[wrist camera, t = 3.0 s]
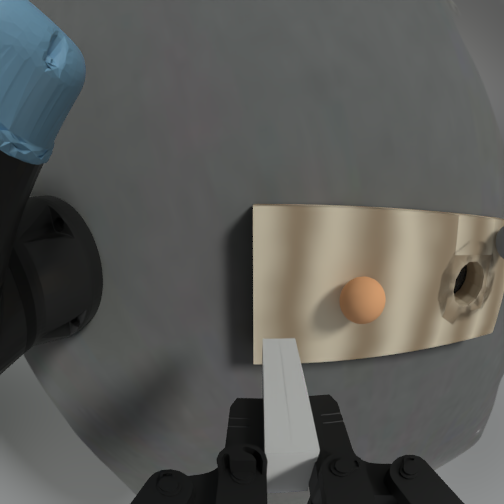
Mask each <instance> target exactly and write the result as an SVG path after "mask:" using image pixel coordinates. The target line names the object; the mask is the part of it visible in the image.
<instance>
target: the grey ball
mask: <svg viewBox="0 0 504 504" xmlns="http://www.w3.org/2000/svg"><path fill="white" fill-rule="evenodd" d="M496 249H497V251H498V253H499V255H500V256H501V257H502V258H503V259H504V226H503V227H502V228H501V229H500V230H499V231H498V233H497V236H496Z"/></svg>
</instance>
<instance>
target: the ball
mask: <svg viewBox="0 0 504 504" xmlns="http://www.w3.org/2000/svg"><path fill="white" fill-rule="evenodd" d="M339 302H340V308H341V311H342V313H343V314H344V316H345V317H346V318H347V319H348V320H350V321H351V322H354V323H357V324H367V323H370V322H372V321H374V320H376V319H377V318H378V317H379V316H380V315H381V313H382V312H383V309H384V307H385V302H386V297H385V292H384V290H383V288H382V286H381V285H380V284H379V283H378V282H377V281H376V280H375V279H373V278H370V277H365V276H362V277H356V278H354V279H352V280H350V281H349V282H348V283H347V284H346V285H345V286H344V288H343V289H342V291H341V294H340V301H339Z"/></svg>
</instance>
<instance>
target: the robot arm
mask: <svg viewBox="0 0 504 504" xmlns="http://www.w3.org/2000/svg"><path fill="white" fill-rule="evenodd" d="M85 75H86V66H85V61H84V58H83V55H82V53H81V51H80V50H79V48H78V47H77V46H76V45H75V44H74V43H73V41H72V40H71V39H70V38H69V37H68V36H67V35H66V34H65V33H64V32H63V31H62V30H61V29H60V28H59V27H58V26H57V25H56V24H54V23H53V22H52V21H51V20H50V19H49V18H48V17H47V16H46V15H45V14H43V13H42V12H41V11H40V10H39V9H38V8H37V7H35V6H34V5H33V4H32V3H31V2H29V1H28V0H0V374H1V373H3V372H4V371H5V370H6V369H7V368H8V367H9V366H10V365H11V364H13V363H14V362H15V361H16V360H17V359H18V358H19V357H20V356H21V355H23V354H24V353H25V352H26V351H27V350H29V349H30V348H31V347H32V346H35V345H39V344H43V343H47V342H50V341H54V340H58V339H62V338H65V337H69V336H71V335H73V334H75V333H77V332H78V331H79V330H80V329H82V328H83V327H84V326H85V325H86V324H87V323H88V322H89V321H90V320H91V319H92V318H93V317H94V315H95V313H96V311H97V309H98V307H99V304H100V300H101V296H102V286H103V278H102V267H101V261H100V257H99V253H98V250H97V246H96V244H95V241H94V239H93V236H92V234H91V232H90V230H89V228H88V226H87V225H86V223H85V222H84V220H83V219H82V217H81V216H80V215H79V214H78V212H77V211H76V210H75V209H74V208H73V207H71V206H70V205H69V204H68V203H66V202H65V201H63V200H61V199H59V198H56V197H53V196H38V197H30V198H29V196H30V193H31V191H32V188H33V186H34V184H35V181H36V179H37V177H38V174H39V172H40V170H41V168H42V166H43V163H46V162H47V161H48V160H49V158H50V156H51V154H52V150H53V148H54V140H55V138H56V136H57V134H58V132H59V130H60V128H61V126H62V124H63V122H64V120H65V118H66V116H67V115H68V113H69V111H70V109H71V107H72V106H73V104H74V102H75V100H76V99H77V97H78V95H79V94H80V91H81V89H82V87H83V84H84V81H85ZM217 464H218V468H216V469H215V470H213V471H211V472H209V473H205V474H200V475H193V476H187V475H185V474H183V473H182V472H180V471H176V470H171V469H170V470H161V471H159V472H156V473H154V474H153V475H152V476H151V477H150V478H149V479H148V480H147V482H146V483H145V484H144V486H143V487H142V489H141V490H140V491H139V493H138V494H137V495H136V497H135V498H134V500H133V501H132V502H131V504H267V493H286V492H300V491H307V490H308V487H309V490H310V498H309V501H308V503H307V504H464V503H463V502H462V501H461V500H460V499H459V498H458V496H457V495H456V494H455V493H454V492H453V491H452V490H451V489H450V488H449V487H448V485H447V484H445V482H444V481H443V480H442V479H441V478H440V477H439V476H438V474H436V472H435V471H434V470H433V469H432V468H431V467H430V466H429V465H428V463H427V462H426V461H425V460H423V459H422V458H421V457H418V456H415V455H405V456H402V457H399V458H397V459H396V460H395V461H394V462H393V463H392V464H375V463H368V462H366V461H363V460H361V458H359V457H358V456H356V455H355V453H354V451H353V449H352V446H351V443H350V440H349V437H348V434H347V431H346V428H345V425H344V422H343V418H342V415H341V414H340V409H339V406H338V403H337V402H336V401H335V400H334V399H333V398H332V397H331V396H330V395H318V396H308V392H307V388H306V383H305V379H304V374H303V370H302V366H301V361H300V357H299V353H298V348H297V344H296V340H295V338H283V339H263V347H262V399H253V398H237V399H236V400H235V401H234V403H233V404H232V405H231V407H230V413H229V421H228V429H227V437H226V445H225V448H224V449H223V450H222V451H221V452H220V453H219V455H218V457H217Z"/></svg>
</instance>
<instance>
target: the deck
mask: <svg viewBox="0 0 504 504" xmlns="http://www.w3.org/2000/svg"><path fill="white" fill-rule="evenodd" d="M503 226H504V219H500V218H494V217H486V216H478V215H469V214H459V213H449V212H438V211H426V210H414V209H399V208H383V207H364V206H341V205H305V204H253V364H262V347H263V339H283V338H295V340H296V344H297V348H298V353H299V357H300V361H301V363H315V362H329V361H341V360H352V359H361V358H369V357H377V356H385V355H392V354H398V353H404V352H410V351H416V350H421V349H427V348H432V347H437V346H441V345H446V344H451V343H455V342H459V341H463V340H467V339H471V338H475V337H479V336H482V335H486V334H489V333H492V332H493V329H494V326H495V323H496V319H497V316H498V312H499V309H500V305H501V301H502V297H503V293H504V259H503V258H502V257H501V256H500V255H499V253H498V251H497V249H496V236H497V233H498V231H499V230H500V229H501V228H502V227H503ZM465 265H467V274H466V279H465V281H464V283H463V285H462V287H461V289H460V290H458V291H457V292H456V293H455V294H454V292H453V291H454V286H455V281H456V278H457V276H458V274H459V273H460V271H461V269H462V268H463V267H464V266H465ZM362 276H365V277H370V278H373V279H375V280H376V281H377V282H378V283H379V284H380V285H381V286H382V288H383V290H384V292H385V297H386V302H385V307H384V309H383V312H382V313H381V315H380V316H379V317H378V318H377V319H376V320H374V321H372V322H370V323H367V324H357V323H354V322H351V321H350V320H348V319H347V318H346V317H345V316H344V314H343V313H342V311H341V308H340V302H339V301H340V294H341V291H342V289H343V288H344V286H345V285H346V284H347V283H348V282H349V281H350V280H352V279H354V278H356V277H362Z"/></svg>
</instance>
